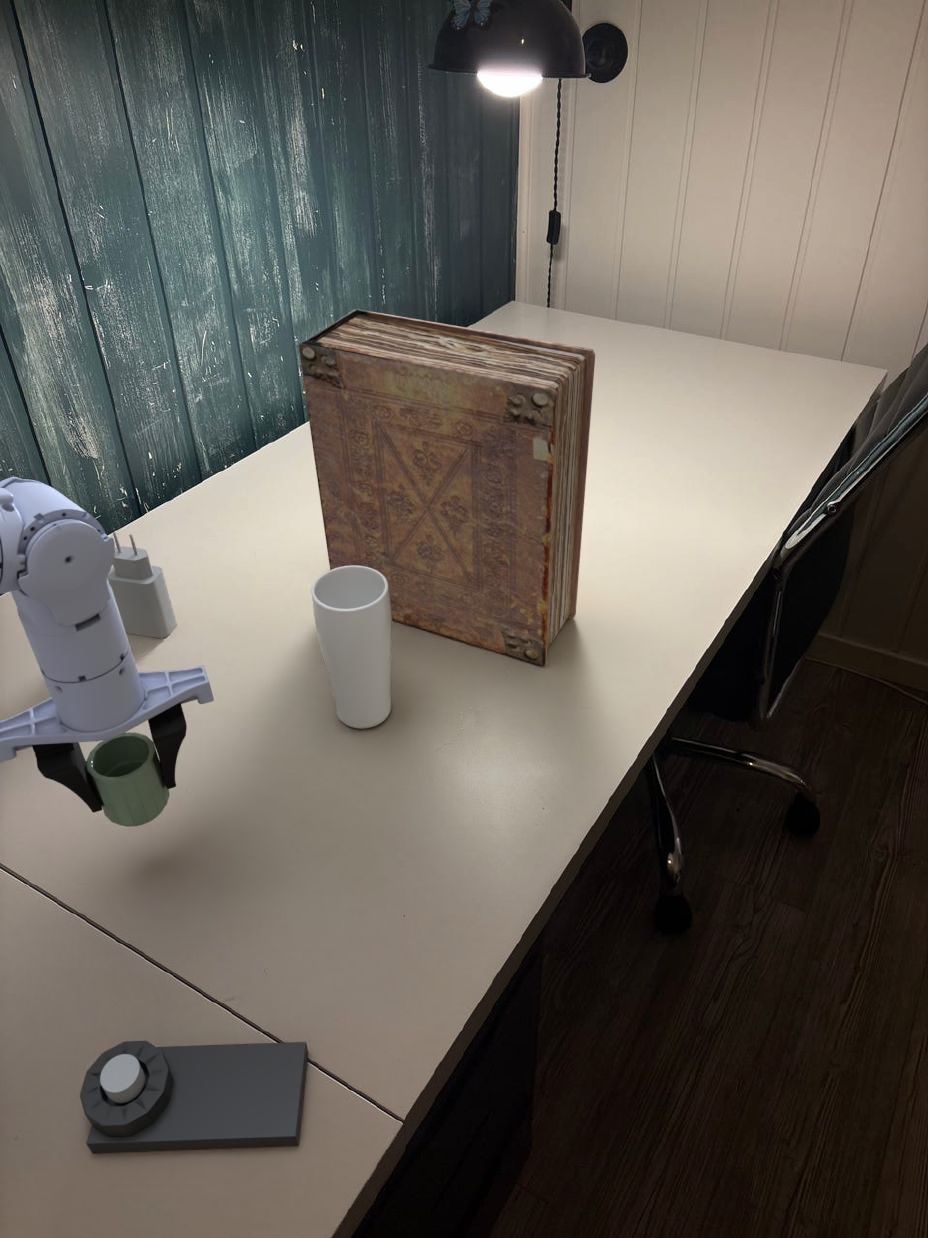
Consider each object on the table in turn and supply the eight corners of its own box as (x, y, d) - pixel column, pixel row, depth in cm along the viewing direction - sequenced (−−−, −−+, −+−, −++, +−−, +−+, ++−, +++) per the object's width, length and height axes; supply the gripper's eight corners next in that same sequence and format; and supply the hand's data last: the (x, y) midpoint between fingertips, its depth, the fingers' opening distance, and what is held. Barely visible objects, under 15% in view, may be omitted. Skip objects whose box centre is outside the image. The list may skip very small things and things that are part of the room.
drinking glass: (404, 689, 91) (394, 565, 81) (393, 739, 85) (382, 612, 76) (336, 685, 91) (319, 562, 82) (322, 735, 86) (301, 609, 76)
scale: (81, 1154, 58) (68, 1133, 56) (107, 1058, 62) (96, 1036, 60) (298, 1146, 58) (292, 1125, 56) (308, 1051, 62) (303, 1029, 61)
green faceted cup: (110, 838, 68) (90, 789, 65) (102, 793, 71) (83, 744, 68) (175, 817, 69) (159, 768, 66) (165, 773, 73) (149, 724, 69)
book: (577, 617, 99) (598, 349, 80) (544, 669, 93) (558, 391, 74) (376, 559, 108) (352, 307, 89) (333, 602, 102) (297, 340, 83)
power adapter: (134, 614, 101) (106, 522, 93) (179, 621, 100) (154, 528, 92) (119, 632, 98) (89, 538, 91) (165, 639, 97) (138, 545, 90)
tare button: (101, 1104, 57) (95, 1093, 56) (112, 1066, 59) (105, 1054, 58) (140, 1103, 57) (134, 1092, 56) (149, 1064, 59) (143, 1053, 58)
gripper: (183, 593, 66) (218, 727, 74) (-34, 648, 62) (29, 783, 70) (203, 651, 61) (237, 788, 69) (-33, 715, 56) (35, 853, 65)
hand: (133, 790), depth 69 cm, fingers closed on green faceted cup, 5 cm apart
